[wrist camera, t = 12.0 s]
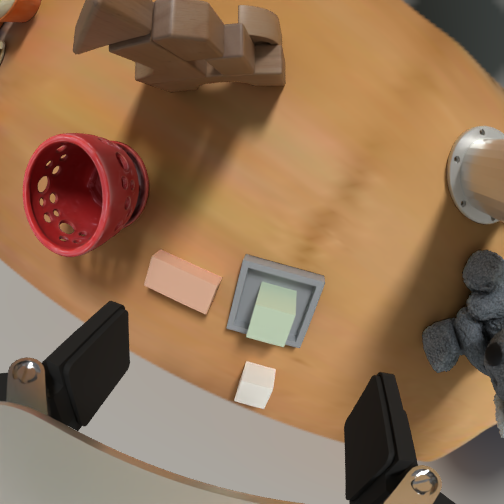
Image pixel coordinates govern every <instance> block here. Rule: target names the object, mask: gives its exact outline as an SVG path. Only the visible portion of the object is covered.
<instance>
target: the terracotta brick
mask: <svg viewBox="0 0 504 504" xmlns="http://www.w3.org/2000/svg"><path fill="white" fill-rule="evenodd" d="M221 280H222V277H221V276H218V275H216V274H214V273H212V272H209V271H207V270H205V269H203V268H201V267H198V266H196V265H194V264H192V263H190V262H187V261H185V260H183V259H181V258H179V257H176V256H174V255H172V254H170V253H168V252H166V251H164V250H161V249H160V250H159V251H158V252H156V253H155V254H154V255H153V256H152V258H151V261H150V265H149V269H148V272H147V276H146V280H145V284H144V285H145V286H147V287H149V288H151V289H153V290H155V291H157V292H159V293H161V294H163V295H165V296H167V297H169V298H171V299H173V300H175V301H178V302H180V303H182V304H184V305H186V306H188V307H190V308H193V309H195V310H197V311H199V312H201V313H203V314H207V312H208V310H209V308H210V306H211V304H212V302H213V299H214V297H215V295H216V292H217V290H218V287H219V285H220V282H221Z"/></svg>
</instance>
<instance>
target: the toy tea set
mask: <svg viewBox="0 0 504 504" xmlns="http://www.w3.org/2000/svg"><path fill="white" fill-rule="evenodd" d="M40 3H41V0H0V27H1V26H2V24H3V22H27V21H28V20H30V19H31V18H32V17H33V16H34V15H35V13H36V12H37V10H38V8H39V6H40ZM4 51H5V43H4V42H3V41H0V63H1V61H2V59H3V56H4Z"/></svg>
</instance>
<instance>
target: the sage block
mask: <svg viewBox="0 0 504 504" xmlns="http://www.w3.org/2000/svg"><path fill="white" fill-rule="evenodd" d="M296 296H297V291H295V290H291V289H287V288H284V287H280V286H276V285H273V284H269V283H266V282H262V283H261V286H260V290H259V293H258V297H257V300H256V304H255V307H254V311H253V314H252V318H251V321H250V325H249V328H248V332H247V335H246V337H248V338H251V339H255V340H258V341H262V342H266V343H270V344H273V345H277V346H281V347H284V346H285V343H286V340H287V338H288V335H289V332H290V329H291V327H292V324H293V321H294V318H295V316H296Z"/></svg>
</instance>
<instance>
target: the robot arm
mask: <svg viewBox="0 0 504 504" xmlns="http://www.w3.org/2000/svg"><path fill="white" fill-rule="evenodd" d="M454 157H455V161H454ZM447 182H448V188H449V191H450V194H451V197H452V199H453V201H454V203H455V205H456V206H457V208H458V209H459V211H460V212H461V213H462V214H463V215H465V216H466V217H467V218H469V219H470V220H472V221H474V222H477V223H480V224H493V223H496V222H498V221H501V222H503V223H504V134H503V133H502V132H501V131H499V130H497V129H495V128H493V127H488V126H477V127H472V128H470V129H468V130H466V131H465V132H464V133H462V134H461V135H460V136H459V137H458V139H457V140H456V141H455V143H454V145H453V147H452V149H451V151H450V155H449V158H448V164H447ZM461 201H462V203H461ZM129 364H130V357H129V328H128V311H127V310H125V307H124V306H123V305H121V304H118V303H116V302H113V301H109V302H108V303H107V304H106V305H104V306H103V307H102V308H101V309H100V310H99V311H98V312H97V313H95V314H94V315H93V316H92V317H91V318H90V319H89V320H88V321H87V322H85V323H84V324H83V325H82V326H81V327H80V328H79V329H77V330H76V331H75V332H74V333H73V334H72V335H71V336H70V337H69V338H68V339H67V340H65V341H64V342H63V343H62V344H61V345H60V346H59V347H58V348H57V349H56V350H55V351H54V352H53V353H52V354H51V355H49V356H48V357H47V358H46V359H45V360H44V361H43V362H42V363H41V362H40V361H38V360H37V359H34V358H27V357H26V358H21V359H18V360H16V361H15V362H14V363H12V364H11V366H10V367H9V370H8V373H1V374H0V504H303V503H295V502H288V501H282V500H276V499H271V498H265V497H260V496H255V495H250V494H246V493H241V492H237V491H233V490H229V489H225V488H221V487H217V486H213V485H210V484H206V483H203V482H200V481H196V480H193V479H190V478H186V477H184V476H181V475H178V474H174V473H172V472H169V471H166V470H163V469H161V468H158V467H155V466H153V465H150V464H147V463H145V462H143V461H140V460H138V459H135V458H133V457H130V456H128V455H126V454H123V453H121V452H119V451H117V450H115V449H112V448H110V447H108V446H106V445H104V444H102V443H100V442H98V441H96V440H94V439H92V438H90V437H88V436H85V435H84V434H82V433H80V432H78V430H79V429H80V428H81V426H86V425H87V424H88V423H89V422H90V420H91V419H92V417H93V416H94V415H95V413H96V412H97V411H98V409H99V408H100V406H101V405H102V404H103V402H104V401H105V400H106V398H107V397H108V395H109V394H110V393H111V391H112V390H113V389H114V387H115V386H116V385H117V383H118V382H119V381H120V379H121V378H122V377H123V375H124V374H125V372H126V371H127V370H128V368H129ZM68 426H69V427H68ZM70 427H71V428H70ZM72 428H73V429H72ZM74 429H75V430H74ZM76 430H77V431H76ZM344 435H345V470H346V471H345V472H346V499H347V500H350V504H455V503H454V502H453V501H451V500H450V499H449V498H447V497H446V496H445V495H443V494H442V493H441V492H440V490H441V488H442V482H441V478H440V476H439V474H438V473H437V472H436V471H435V470H434V469H432V468H430V467H428V466H424V465H420V466H418V464H417V459H416V454H415V449H414V444H413V440H412V435H411V431H410V427H409V422H408V418H407V414H406V412H405V411H404V410H403V406H402V402H401V398H400V394H399V390H398V387H397V383H396V379H395V376H394V375H393V374H388V373H382V372H379V373H378V374H377V375H373V376H372V378H371V379H370V381H369V383H368V385H367V386H366V388H365V390H364V392H363V393H362V395H361V397H360V399H359V400H358V402H357V404H356V405H355V407H354V409H353V410H352V412H351V414H350V415H349V417H348V418H347V420H346V422H345V426H344Z"/></svg>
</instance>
